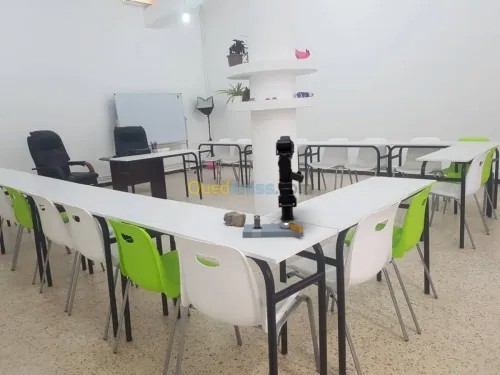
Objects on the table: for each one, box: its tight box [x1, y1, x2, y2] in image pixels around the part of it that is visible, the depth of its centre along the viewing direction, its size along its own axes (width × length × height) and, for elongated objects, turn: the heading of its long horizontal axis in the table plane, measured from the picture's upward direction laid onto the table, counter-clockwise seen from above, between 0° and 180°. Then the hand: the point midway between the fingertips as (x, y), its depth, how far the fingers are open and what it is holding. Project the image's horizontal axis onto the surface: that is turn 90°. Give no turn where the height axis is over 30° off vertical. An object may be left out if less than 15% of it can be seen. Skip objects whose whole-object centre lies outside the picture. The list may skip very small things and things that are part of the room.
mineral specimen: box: [223, 211, 247, 227], centre depth 190 cm, size 13×7×6 cm, turn 59°
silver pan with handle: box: [278, 219, 304, 233], centre depth 168 cm, size 6×14×3 cm, turn 27°
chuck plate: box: [242, 222, 304, 239], centre depth 173 cm, size 12×26×2 cm, turn 84°
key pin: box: [253, 214, 261, 229], centre depth 173 cm, size 3×3×8 cm
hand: (286, 200), depth 180 cm, fingers open, 9 cm apart
